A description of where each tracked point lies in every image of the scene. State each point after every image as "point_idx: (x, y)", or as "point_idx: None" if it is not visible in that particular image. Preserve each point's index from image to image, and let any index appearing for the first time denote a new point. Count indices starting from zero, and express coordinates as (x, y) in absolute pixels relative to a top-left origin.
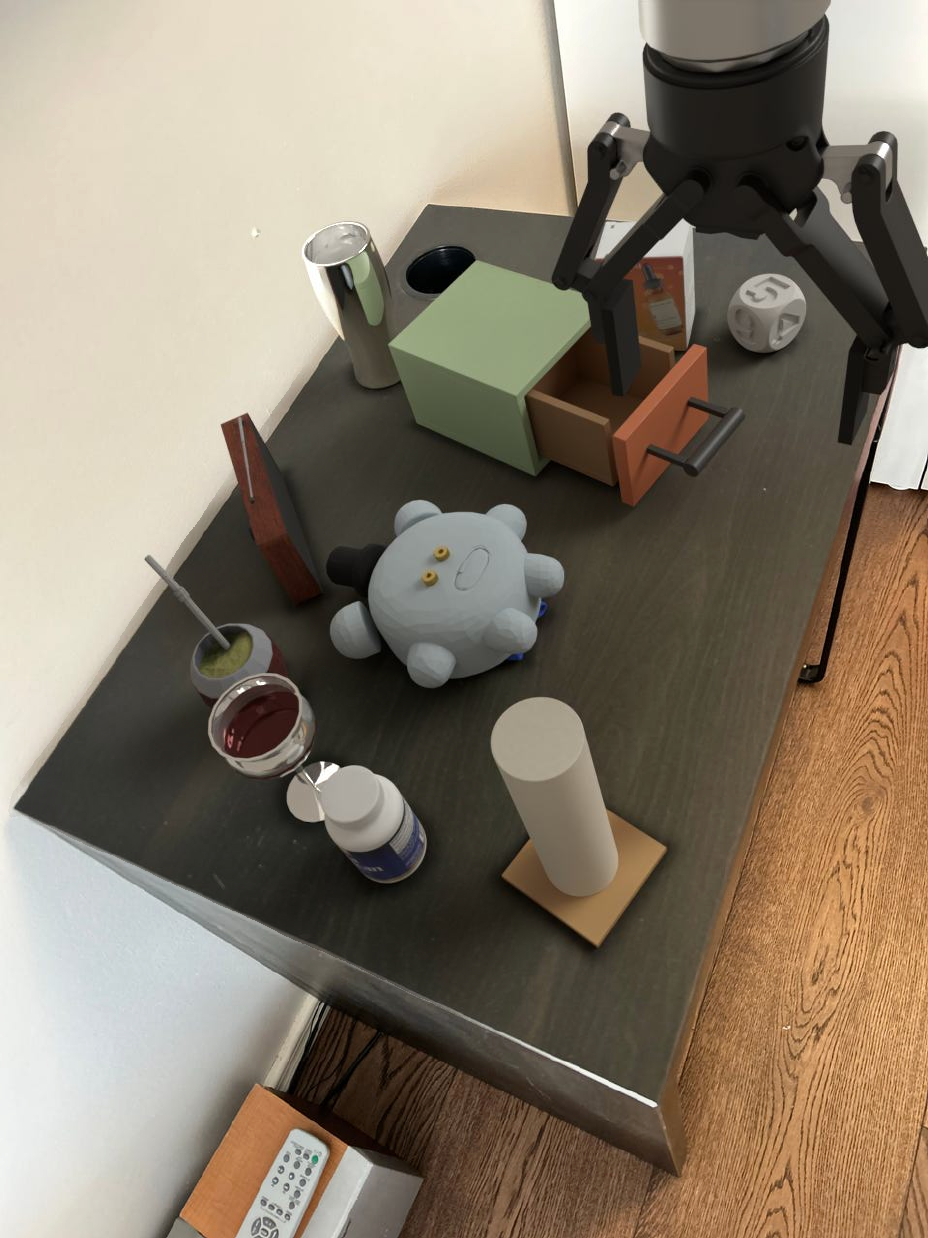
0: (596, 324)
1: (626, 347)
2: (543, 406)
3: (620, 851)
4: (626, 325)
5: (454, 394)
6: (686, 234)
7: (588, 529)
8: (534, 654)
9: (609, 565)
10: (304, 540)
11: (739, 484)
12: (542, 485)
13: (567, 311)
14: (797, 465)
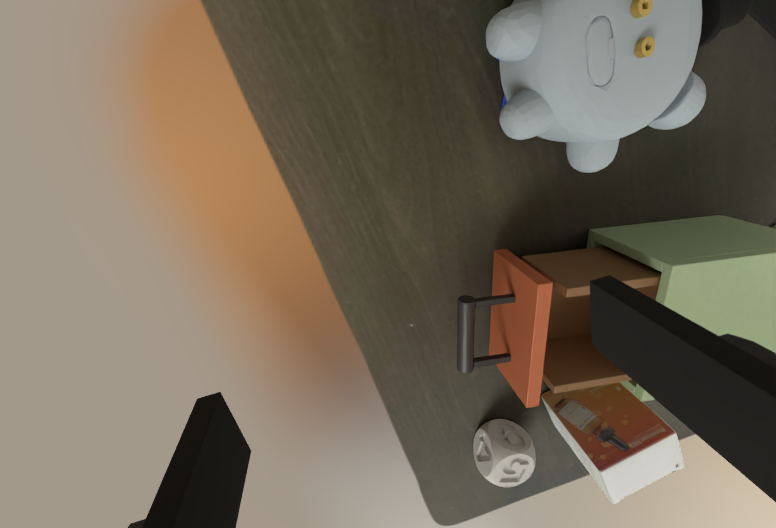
0: (774, 365)
1: (657, 355)
2: (634, 275)
3: None
4: (700, 396)
5: (723, 242)
6: (609, 490)
7: (516, 210)
8: (483, 62)
9: (478, 190)
10: (768, 28)
11: (431, 318)
12: (578, 225)
13: None
14: (403, 356)
